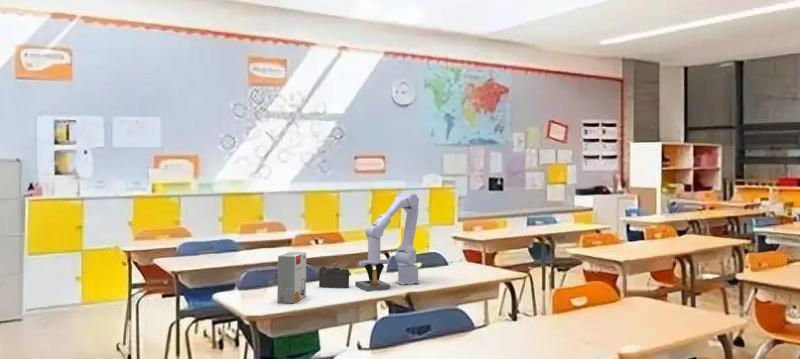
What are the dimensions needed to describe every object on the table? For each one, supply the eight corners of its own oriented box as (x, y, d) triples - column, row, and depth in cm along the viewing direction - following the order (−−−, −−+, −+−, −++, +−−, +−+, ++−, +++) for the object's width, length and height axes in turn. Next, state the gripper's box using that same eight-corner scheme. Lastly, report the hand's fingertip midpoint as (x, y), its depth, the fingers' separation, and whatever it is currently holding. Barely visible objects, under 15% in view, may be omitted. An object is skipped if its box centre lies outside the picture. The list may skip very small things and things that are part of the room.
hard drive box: (294, 304, 288) (294, 256, 288) (277, 303, 290) (276, 256, 289) (306, 296, 304) (306, 251, 303) (290, 295, 305) (290, 251, 304)
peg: (375, 286, 325) (375, 269, 324) (377, 287, 322) (377, 270, 322) (369, 286, 324) (369, 269, 323) (371, 288, 321) (371, 270, 321)
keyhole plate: (378, 284, 333) (378, 279, 333) (390, 289, 320) (390, 284, 320) (355, 286, 328) (355, 281, 328) (366, 291, 315) (366, 286, 315)
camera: (352, 284, 333) (352, 264, 332) (347, 288, 322) (347, 267, 322) (323, 283, 335) (323, 263, 334) (318, 288, 324) (318, 267, 323)
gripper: (385, 249, 328) (385, 277, 329) (356, 250, 322) (356, 279, 323) (391, 251, 322) (390, 280, 322) (362, 252, 316) (362, 282, 317)
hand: (374, 280), depth 322 cm, fingers closed on peg, 3 cm apart
